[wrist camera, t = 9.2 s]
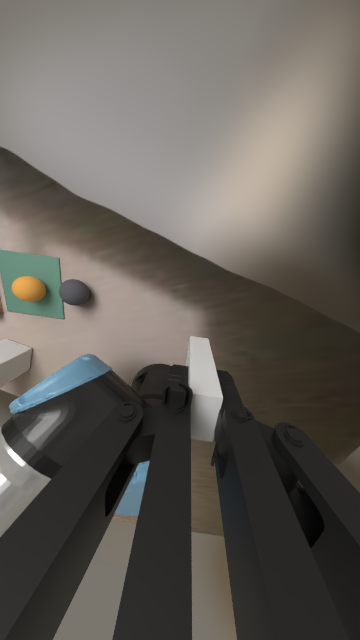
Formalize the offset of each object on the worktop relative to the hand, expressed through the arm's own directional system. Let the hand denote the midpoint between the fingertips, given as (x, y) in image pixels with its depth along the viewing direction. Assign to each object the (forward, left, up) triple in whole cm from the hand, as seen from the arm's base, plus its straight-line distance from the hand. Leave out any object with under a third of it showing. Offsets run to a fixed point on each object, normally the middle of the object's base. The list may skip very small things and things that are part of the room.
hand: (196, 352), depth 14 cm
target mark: (-2, +37, -24) cm, 44 cm away
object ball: (-2, +35, -22) cm, 41 cm away
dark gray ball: (-2, +25, -22) cm, 33 cm away
